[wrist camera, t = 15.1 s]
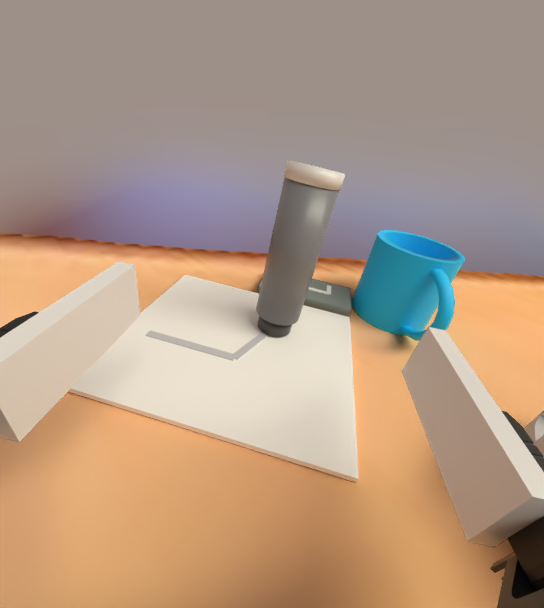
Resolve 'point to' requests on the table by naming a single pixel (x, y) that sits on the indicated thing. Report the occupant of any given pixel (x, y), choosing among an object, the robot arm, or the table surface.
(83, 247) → the table surface
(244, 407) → the paper
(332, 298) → the dark grey flat block
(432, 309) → the mug
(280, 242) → the marker
